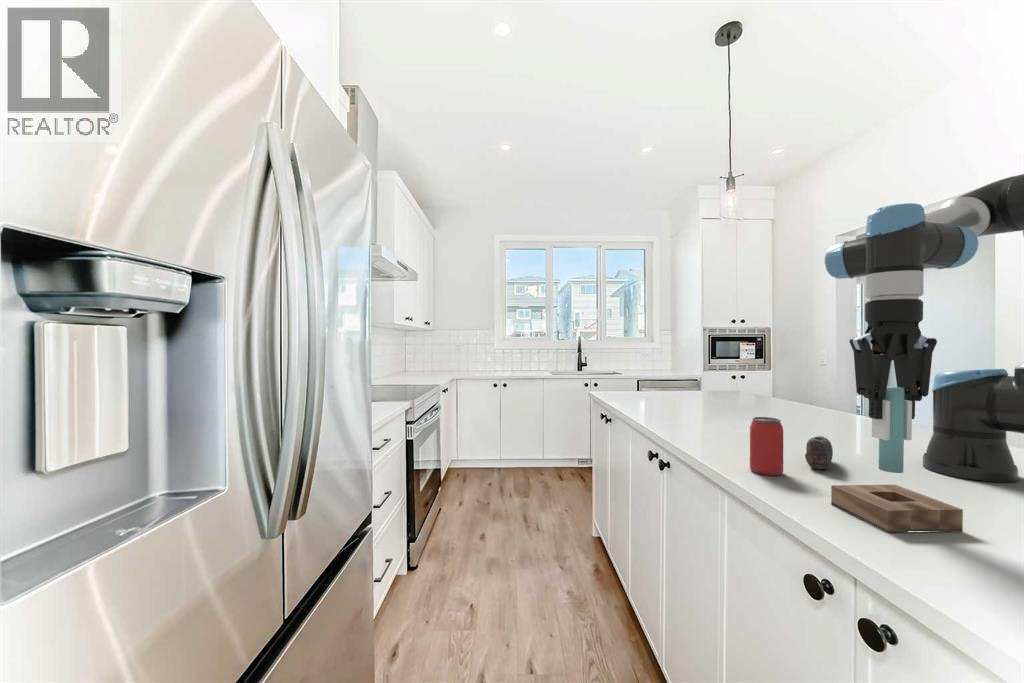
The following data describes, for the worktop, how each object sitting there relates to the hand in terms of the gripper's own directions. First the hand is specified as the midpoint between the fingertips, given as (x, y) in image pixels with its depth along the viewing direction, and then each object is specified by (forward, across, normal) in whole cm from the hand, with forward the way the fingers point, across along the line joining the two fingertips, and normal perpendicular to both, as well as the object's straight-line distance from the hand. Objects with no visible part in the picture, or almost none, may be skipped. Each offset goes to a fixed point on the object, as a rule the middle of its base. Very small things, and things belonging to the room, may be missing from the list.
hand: (891, 438), depth 77 cm
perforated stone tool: (+14, -10, -31) cm, 35 cm away
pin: (+5, 0, 0) cm, 5 cm away
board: (+13, 0, 0) cm, 13 cm away
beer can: (+14, +6, -26) cm, 30 cm away
